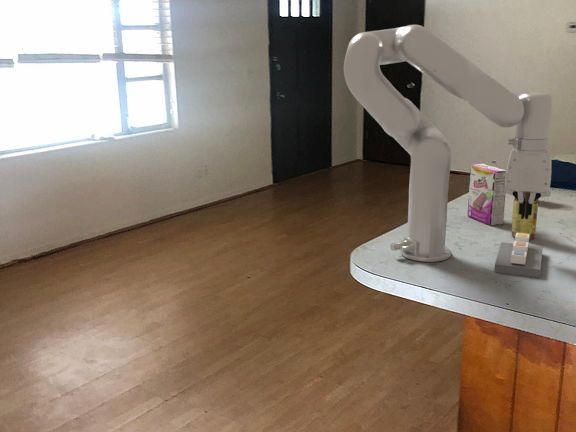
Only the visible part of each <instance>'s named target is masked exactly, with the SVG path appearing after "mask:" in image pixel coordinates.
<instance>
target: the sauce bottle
mask: <svg viewBox="0 0 576 432" xmlns="http://www.w3.org/2000/svg"><path fill="white" fill-rule="evenodd" d="M530 194H531V193H530V192H524V198H525V201H526V202H527V200H528V199H529V197H530ZM539 199H540V198H539ZM539 199H537V200H536V201H535V202H534V203H533V204H532V215H529V216H528V219H525V217H524V218H523V219H521V215H520V214H519V202H518V200H517V199H516V198H515V197H514V199H513V209H512V218H511V219H512V220H511V221H512V222H511V231H512V232H511V237H512V238H514V239H515V235H516V233H526V234H530V235H529V240H533V239H534V238H535V235H536V232H537V220H538V218H537V217H538V210H539V209H538V208H539ZM525 210H526V208H525Z"/></svg>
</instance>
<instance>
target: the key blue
mask: <svg viewBox="0 0 576 432" xmlns="http://www.w3.org/2000/svg"><path fill="white" fill-rule="evenodd" d="M526 254H527V252H522V251H512V254H511V263H513V264H514V265H522V266H523V264H524V265H525V262H526Z"/></svg>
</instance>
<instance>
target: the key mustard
mask: <svg viewBox="0 0 576 432" xmlns="http://www.w3.org/2000/svg"><path fill="white" fill-rule="evenodd" d="M529 235H530V234H526V233H516V235H515V238H514V242H515V241H521V242H528V244H529V243H530V239H529Z"/></svg>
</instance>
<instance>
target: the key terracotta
mask: <svg viewBox="0 0 576 432" xmlns="http://www.w3.org/2000/svg"><path fill="white" fill-rule="evenodd" d="M528 245H529V243H523V242H515V241H513V251H522V252H527V248H528ZM526 255H527V254H526Z"/></svg>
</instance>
